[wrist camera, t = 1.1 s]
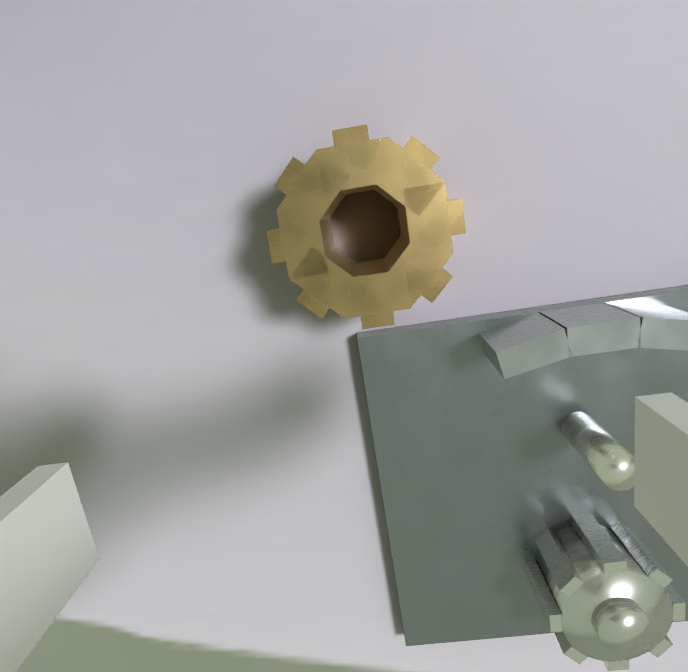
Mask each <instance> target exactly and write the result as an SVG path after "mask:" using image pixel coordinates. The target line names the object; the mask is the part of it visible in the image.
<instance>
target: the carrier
mask: <svg viewBox="0 0 688 672" xmlns="http://www.w3.org/2000/svg"><path fill="white" fill-rule="evenodd" d="M357 341H358V347H359V353H360V360H361V366H362V372H363V378H364V385H365V391H366V397H367V404H368V410H369V416H370V422H371V429H372V435H373V441H374V447H375V454H376V460H377V466H378V473H379V479H380V485H381V491H382V498H383V504H384V510H385V517H386V523H387V529H388V535H389V542H390V548H391V554H392V561H393V567H394V573H395V579H396V586H397V592H398V598H399V604H400V611H401V617H402V623H403V630H404V636H405V642H406V646H413V645H424V644H435V643H446V642H457V641H468V640H479V639H490V638H501V637H512V636H523V635H534V634H546V633H555V635H556V637H557V639H558V642H559V644H560V646H561V648H562V651H563V653H564V654H565V655H566V656H568V657H569V658H571V659H572V660H574V661H575V662H577V663H578V664H580V663H581V662H583V661H584V660H585V659H586V658H587V656H588V657H591V658H594V659H597V660H603V662H604V664H605V666H606V668H607V670H608V671H613V670H625V669H629V659H632V658H635V657H638V656H640V655H642V654H645V653H646V652H648V651H649V652H650V653H652V654H653V655H655V656H656V657H659V656H660V655H661V654H662V653H664V652H665V651H666V650H667V649H668V648H669V647H671V646H672V645H673V644H672V642H671V641H670V639H669V638H668V637H667V635H666V634H667V632H668V631H669V629H670V626H671V623H672V622H679V621H688V566H687V565H686V564H685V563H684V562H683V561H682V560H681V558H680V557H679V556H678V555H677V554H676V553H675V552H674V550H673V549H672V548H671V547H670V546H669V545H668V544H667V542H666V541H665V540H664V539H663V538H662V537H661V536H660V535H659V533H658V532H657V531H656V530H655V529H654V528H653V527H652V525H651V524H650V523H649V522H648V521H647V520H646V519H645V517H644V516H643V515H642V514H641V513H640V512H639V511H638V510H637V508H636V507H635V506H634V469H635V396H644V395H653V394H661V393H670V392H672V393H673V394H675V395H676V396H678V397H680V398H681V399H683V400H684V401H686V402H688V285H684V286H677V287H670V288H663V289H657V290H650V291H643V292H636V293H629V294H622V295H615V296H608V297H601V298H594V299H587V300H581V301H574V302H567V303H560V304H553V305H546V306H539V307H532V308H525V309H518V310H511V311H504V312H498V313H491V314H484V315H477V316H470V317H463V318H456V319H449V320H442V321H435V322H428V323H422V324H415V325H408V326H401V327H394V328H387V329H380V330H373V331H366V332H359V333H357Z"/></svg>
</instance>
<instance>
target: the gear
mask: <svg viewBox="0 0 688 672" xmlns="http://www.w3.org/2000/svg"><path fill="white" fill-rule="evenodd" d="M332 134H333V140H334V147H329V148H324V149H318V150H316V151H315V152H314V154H313V155H312V157H311V158H310V160H309V161H308V163H307V164H306V165H304V164H303V163H302V162H300V161H299V160H297V159H296V158H294V157H293V158H292V160H291V161H290V163H289V164H288V166H287V167H286V169H285V170H284V172H283V173H282V175H281V176H280V178H279V179H278V181H277V183H276V184H275V187H276V188H277V189H279V190H280V191H281V192H283V193H284V194H286V196H285V198H284V199H283V201H282V202H281V204H280V205H279V207H278V208H277V210H276V212H277V218H278V223H279V228H276V229H271V230H267V231H266V235H267V240H268V246H269V251H270V256H271V261H272V264H274V263H281V262H286V265H287V271H288V276H289V279H290V280H291V281H292V282H294V283H295V284H297V285H298V286H299V287H301V288H302V289H303V291H302V292H301V293H300V295H299V296H298V298H297V299H296V301H297V302H299V303H300V304H301V305H303V306H304V307H306V308H307V309H308V310H310V311H311V312H313V313H314V314H315V315H317V316H318V317H320V318H321V319H322V318H323V317H324V315H325V314H326V313H327V311H328V310H329V309H332V310H333V311H334V312H336V313H337V314H338V315H340V316H341V317H343V318H349V317H356V316H361V320H362V327H363V329H367V328H374V327H380V326H387V325H394V324H395V323H394V316H393V311H397V310H403V309H410V308H411V307H412V305H413V304H414V303H415V302H416V300H417V299H418V298H419V296H420V295H422V296H424V297H425V298H426V299H428V300H429V301H430V302H433V301H434V300H435V298H436V297H437V296H438V295H439V293H440V292H441V291H442V290H443V288H444V287H445V286H446V284H447V283H448V282H449V281H450V279H451V278H452V277H453V276H452V275H450V274H449V273H448V272H447V271H445V270H444V269H443V268H442V267H443V266H444V264H445V263H446V262H447V261H448V259H449V258H450V257H451V255H452V254H453V249H452V240H451V235H457V234H463V233H466V232H465V222H464V212H463V202H462V198H461V199H452V200H447V193H446V183H445V181H444V180H442V179H441V178H440V177H439V176H437V175H436V174H435V173H433V172H432V171H431V169H432V168H433V166H434V165H435V164H436V162H437V161H438V160H439V158H440V157H439V156H437V155H436V154H435V153H434V152H432V151H431V150H430V149H428V148H427V147H426V146H425V145H423V144H422V143H421V142H420V141H418V140H417V139H416V138H414V137H413V136H412V137H411V138H410V139H409V141H408V142H407V144H406V145H405V147H404V148H403V149H402V148H401V147H400V146H399V145H397V144H396V143H395V142H393V141H392V140H391V139H390V138H388V137H386V138H380V139H375V140H369V136H368V129H367V125H361V126H356V127H350V128H345V129H339V130H333V131H332ZM370 190H375V191H377V192H378V193H379V194H381V195H382V196H383V197H384V198H386V199H387V200H388V201H390V202H391V203H392V204H394V205H395V206H396V207H397V210H398V218H399V226H400V233H401V236H400V237H399V239H398V240H397V241H396V243H395V244H394V245H393V247H392V248H391V249H390V251H389V252H388V253H387V255H386V256H385V257H384V258H382V259H376V260H369V261H363V262H355V261H354V260H353V259H351V258H350V257H349V256H347V255H346V254H344V253H343V252H342V251H340V250H339V249H338V248H336V247H335V246H334V240H333V234H332V228H331V222H330V217H331V216H332V214H333V213H334V211H335V210H336V209H337V207H338V206H339V204H340V203H341V201H342V200H343V199H344V197H345V196H346V195H347V194H352V193H358V192H364V191H370Z"/></svg>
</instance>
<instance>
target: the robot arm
mask: <svg viewBox="0 0 688 672" xmlns="http://www.w3.org/2000/svg"><path fill="white" fill-rule="evenodd" d="M634 506H635V507H636V508H637V510H638V511H639V512H640V513H641V514H642V515H643V516H644V517H645V519H646V520H647V521H648V522H649V523H650V524H651V525H652V527H653V528H654V529H655V530H656V531H657V532H658V533H659V535H660V536H661V537H662V538H663V539H664V540H665V541H666V542H667V544H668V545H669V546H670V547H671V548H672V549H673V550H674V552H675V553H676V554H677V555H678V556H679V557H680V558H681V560H682V561H683V562H684V563H685V564H686V565H687V566H688V402H686V401H684V400H683V399H681V398H680V397H678V396H676V395H675V394H673V393H672V392H670V393H661V394H653V395H644V396H635V469H634ZM98 560H99V556H98V553H97V550H96V547H95V544H94V541H93V538H92V535H91V531H90V528H89V525H88V522H87V519H86V516H85V513H84V510H83V507H82V504H81V501H80V498H79V495H78V491H77V488H76V485H75V482H74V479H73V476H72V473H71V470H70V467H69V464H68V462H66V463H58V464H49V465H40V466H37V467H36V468H35V469H33V470H32V471H31V472H30V473H28V474H27V475H26V476H25V477H24V478H22V479H21V480H20V481H19V482H17V483H16V484H15V485H14V486H12V487H11V488H10V489H9V490H8V491H6V492H5V493H4V494H3V495H1V496H0V672H16V671H17V670H18V668H19V667H20V665H21V664H22V663H23V661H24V660H25V659H26V657H27V656H28V655H29V653H30V652H31V651H32V649H33V648H34V646H35V645H36V644H37V643H38V641H39V640H40V638H41V637H42V636H43V634H44V633H45V632H46V630H47V629H48V628H49V626H50V625H51V624H52V622H53V621H54V620H55V618H56V617H57V616H58V614H59V613H60V611H61V610H62V609H63V607H64V606H65V605H66V603H67V602H68V601H69V599H70V598H71V597H72V595H73V594H74V593H75V591H76V590H77V589H78V587H79V586H80V584H81V583H82V582H83V580H84V579H85V578H86V576H87V575H88V574H89V572H90V571H91V570H92V568H93V567H94V566H95V564H96V563H97V562H98Z"/></svg>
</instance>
